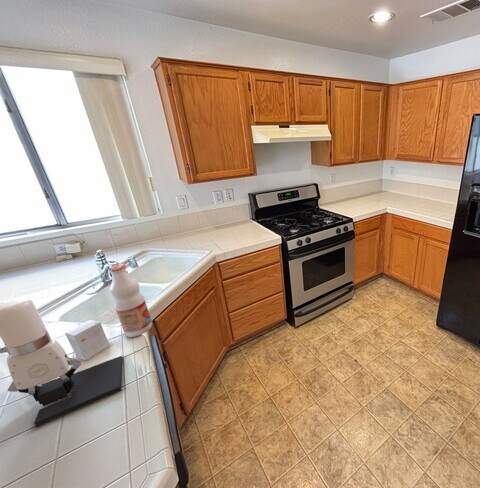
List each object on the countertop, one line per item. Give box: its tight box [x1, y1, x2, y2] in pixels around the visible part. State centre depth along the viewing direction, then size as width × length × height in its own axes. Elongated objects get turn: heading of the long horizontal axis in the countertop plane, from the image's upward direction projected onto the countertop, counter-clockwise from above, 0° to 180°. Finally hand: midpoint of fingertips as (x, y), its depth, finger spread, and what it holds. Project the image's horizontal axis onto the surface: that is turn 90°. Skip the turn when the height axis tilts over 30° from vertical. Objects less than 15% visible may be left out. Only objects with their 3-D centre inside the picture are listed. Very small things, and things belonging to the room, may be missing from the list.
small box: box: [64, 319, 111, 361], centre depth 93 cm, size 8×6×10 cm
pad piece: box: [37, 377, 69, 408], centre depth 75 cm, size 5×5×4 cm
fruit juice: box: [108, 263, 153, 338], centre depth 100 cm, size 9×9×28 cm
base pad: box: [33, 355, 124, 428], centre depth 79 cm, size 18×16×2 cm
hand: (57, 394), depth 75 cm, fingers closed on pad piece, 5 cm apart
